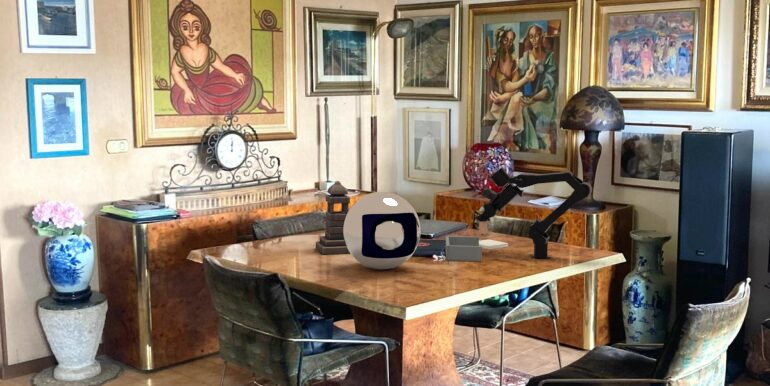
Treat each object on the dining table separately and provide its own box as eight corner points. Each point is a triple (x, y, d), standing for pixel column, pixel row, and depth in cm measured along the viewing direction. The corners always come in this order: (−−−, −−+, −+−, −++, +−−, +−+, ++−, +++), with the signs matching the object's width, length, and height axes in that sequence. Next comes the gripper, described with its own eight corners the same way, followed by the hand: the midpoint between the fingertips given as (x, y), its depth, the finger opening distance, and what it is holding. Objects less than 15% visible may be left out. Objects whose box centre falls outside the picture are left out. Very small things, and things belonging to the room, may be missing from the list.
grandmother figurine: (492, 235, 380) (493, 206, 379) (490, 237, 377) (491, 207, 375) (475, 234, 383) (475, 205, 382) (472, 235, 379) (473, 206, 378)
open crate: (478, 250, 385) (478, 236, 385) (481, 261, 362) (481, 246, 362) (445, 249, 386) (445, 236, 385) (446, 260, 363) (446, 245, 362)
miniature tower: (322, 255, 371) (322, 183, 367) (315, 248, 385) (315, 179, 382) (360, 253, 376) (360, 182, 372) (351, 247, 390) (352, 178, 386)
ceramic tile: (508, 246, 395) (508, 243, 395) (488, 249, 388) (488, 246, 388) (488, 242, 405) (488, 239, 404) (469, 245, 397) (469, 242, 397)
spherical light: (353, 279, 327) (354, 197, 324) (335, 263, 355) (335, 188, 352) (430, 275, 336) (431, 195, 332) (406, 259, 364) (407, 186, 360)
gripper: (497, 179, 384) (472, 203, 389) (488, 184, 367) (461, 209, 372) (515, 198, 383) (489, 222, 388) (506, 204, 365) (479, 229, 370)
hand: (479, 220), depth 379 cm, fingers closed on grandmother figurine, 2 cm apart
